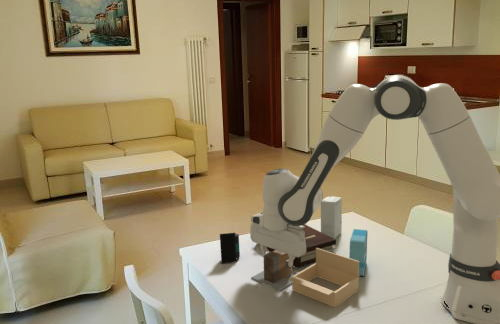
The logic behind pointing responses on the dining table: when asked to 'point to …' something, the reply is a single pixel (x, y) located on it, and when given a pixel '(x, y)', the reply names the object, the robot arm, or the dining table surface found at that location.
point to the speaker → (229, 247)
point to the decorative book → (312, 246)
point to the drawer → (328, 278)
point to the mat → (279, 284)
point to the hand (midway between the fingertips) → (277, 261)
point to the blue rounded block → (359, 248)
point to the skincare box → (331, 216)
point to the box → (276, 266)
